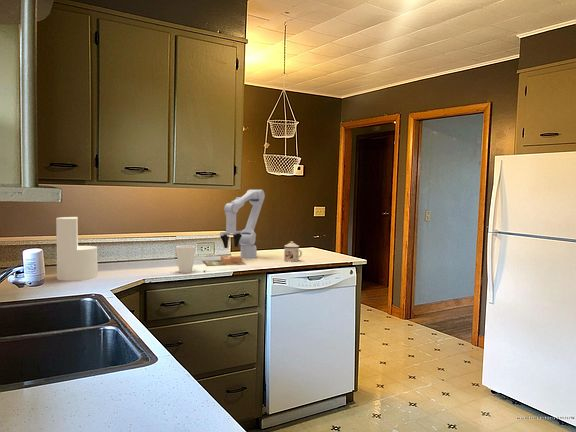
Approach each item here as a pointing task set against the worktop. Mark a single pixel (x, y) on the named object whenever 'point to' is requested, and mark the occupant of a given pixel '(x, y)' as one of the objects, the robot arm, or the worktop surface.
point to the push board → (220, 263)
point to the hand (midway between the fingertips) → (231, 247)
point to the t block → (231, 259)
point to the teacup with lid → (292, 252)
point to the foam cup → (185, 258)
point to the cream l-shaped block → (73, 253)
